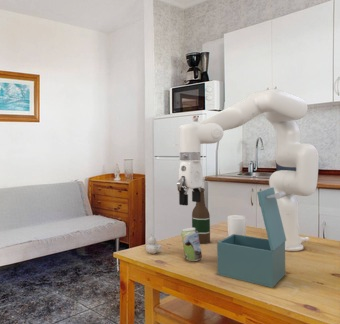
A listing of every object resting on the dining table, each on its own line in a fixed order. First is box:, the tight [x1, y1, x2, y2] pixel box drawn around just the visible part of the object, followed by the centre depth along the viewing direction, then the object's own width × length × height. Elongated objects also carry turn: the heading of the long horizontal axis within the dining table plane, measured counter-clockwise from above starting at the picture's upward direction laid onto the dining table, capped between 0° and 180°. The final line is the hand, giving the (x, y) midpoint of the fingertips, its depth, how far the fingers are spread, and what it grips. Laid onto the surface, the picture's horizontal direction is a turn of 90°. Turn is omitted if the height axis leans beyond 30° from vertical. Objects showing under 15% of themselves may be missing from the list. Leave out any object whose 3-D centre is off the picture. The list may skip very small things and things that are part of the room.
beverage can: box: [180, 227, 203, 262], centre depth 126 cm, size 6×7×12 cm
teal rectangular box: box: [216, 234, 286, 289], centre depth 110 cm, size 17×14×11 cm
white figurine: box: [145, 233, 163, 255], centre depth 136 cm, size 5×7×8 cm
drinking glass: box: [226, 214, 247, 237], centre depth 130 cm, size 7×7×15 cm
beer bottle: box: [191, 187, 211, 245], centre depth 150 cm, size 8×8×24 cm
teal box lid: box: [256, 187, 286, 250], centre depth 104 cm, size 17×14×5 cm
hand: (190, 203), depth 126 cm, fingers open, 9 cm apart
